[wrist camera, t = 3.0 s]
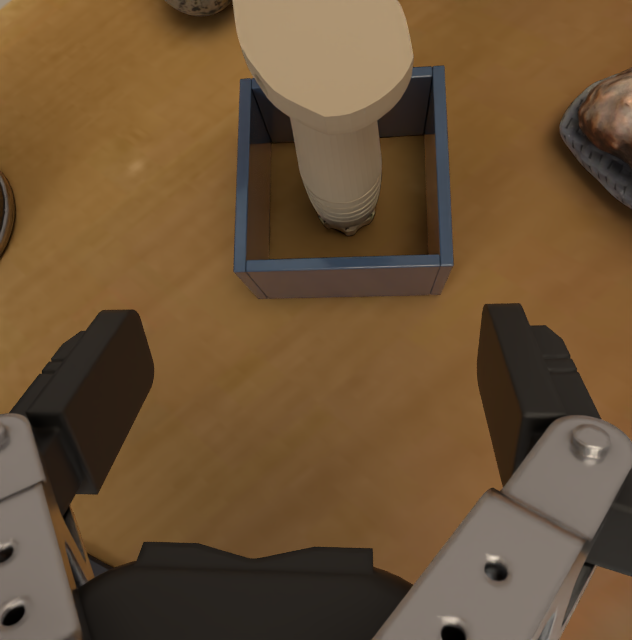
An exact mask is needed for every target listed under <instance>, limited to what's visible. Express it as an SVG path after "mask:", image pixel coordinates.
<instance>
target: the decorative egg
mask: <svg viewBox="0 0 632 640" xmlns="http://www.w3.org/2000/svg"><path fill="white" fill-rule="evenodd" d="M165 1H166V2H167V3H168V4H169V5H171V6H172V7H174V8H175V9H177V10H178V11H180V12H183V13H185V14H188V15H192V16H210V15H213V14H216V13H218V12H220V11H222V10H223V9H224V8H226V7H227V6H228V5H229V4H230V3H231V2H232V0H165Z"/></svg>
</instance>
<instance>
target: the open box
mask: <svg viewBox="0 0 632 640" xmlns="http://www.w3.org/2000/svg"><path fill="white" fill-rule="evenodd" d="M377 124H378V132H379V137H391V136H410V135H423V134H424V151H425V178H426V205H427V232H428V255H396V256H363V257H330V258H297V259H269V234H270V188H271V142H272V143H279V142H294V136H293V130H292V125H291V120H290V117H289V116H288V115H286V114H284V113H283V112H282V111H281V110H279V109H278V108H277V107H275V106H274V105H273V103H272V102H271V101H270V100H269V99H268V98H267V97H266V95H265V94H264V92H263V91H262V89H261V88H260V86H259V85H258V83H257V82H256V80H255V79H254V78H252V79H251V78H247V79H240V97H239V126H238V155H237V184H236V213H235V241H234V270H233V271H234V273H235V274H236V275H237V276H238V277H239V278H240V279H241V280H242V282H243V283H244V284H245V285H246V286H247V287H248V288H249V289H250V290H251V291H252V293H253V294H254V295H255V296H256V297H257V298H258V299H267V298H269V299H275V298H320V297H365V296H410V295H440V294H441V292H442V290H443V288H444V286H445V283H446V281H447V279H448V277H449V275H450V272H451V270H452V268H453V266H454V260H453V238H452V216H451V195H450V173H449V151H448V130H447V108H446V87H445V67H444V66H433V67H431V66H428V67H413V69H412V76H411V79H410V82H409V84H408V86H407V89H406V90H405V92H404V94H403V96H402V97H401V99H400V100H399V101H398V103H397V104H396V105H395V106H394V107H393V108H392V109H391V110H390V111H389V112H387V113H386V114H385V115H384V116H382V117H381V118H380V119H379V120H377Z"/></svg>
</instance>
